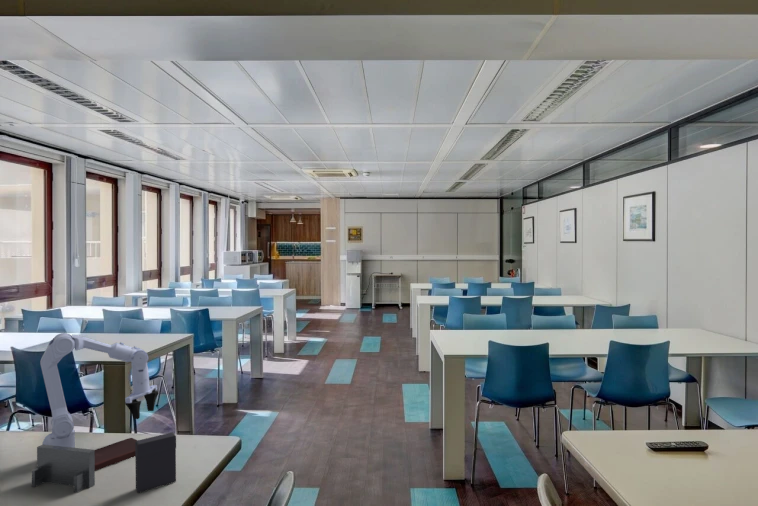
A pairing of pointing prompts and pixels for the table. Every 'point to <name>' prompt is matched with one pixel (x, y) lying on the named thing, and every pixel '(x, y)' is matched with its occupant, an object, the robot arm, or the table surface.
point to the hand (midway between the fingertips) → (143, 414)
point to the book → (114, 453)
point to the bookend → (64, 467)
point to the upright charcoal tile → (155, 461)
